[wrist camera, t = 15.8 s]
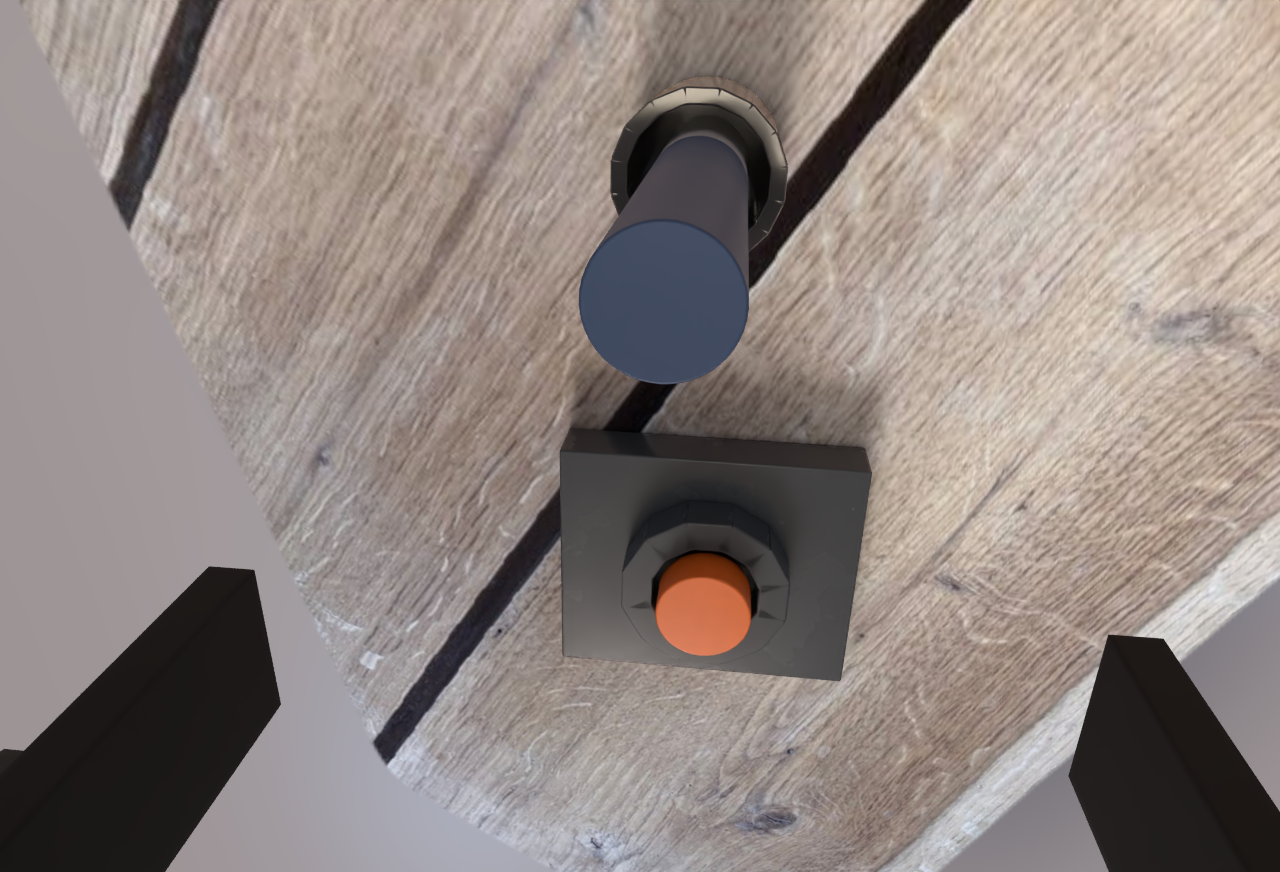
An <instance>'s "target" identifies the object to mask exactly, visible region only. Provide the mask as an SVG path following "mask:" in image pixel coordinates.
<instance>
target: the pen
mask: <svg viewBox="0 0 1280 872" xmlns="http://www.w3.org/2000/svg"><path fill="white" fill-rule="evenodd" d="M579 309H580V315H581V320H582V323H583V326H584V329H585V332H586V334H587V336H588V338H589V340H590V342H591V343H592V345H593V346H594V348H595V349H596V351H597V352H598V353H599V354H600V355H601V356H602V357H603V358H604V359H605V360H606V361H607V362H608V363H609V364H610V365H611V366H613V367H614V368H616V369H617V370H618V371H620V372H622V373H624V374H626V375H628V376H630V377H632V378H635V379H637V380H640V381H644V382H648V383H655V384H676V383H683V382H687V381H691V380H694V379H696V378H699V377H701V376H703V375H705V374H707V373H709V372H711V371H712V370H713V369H715V368H716V367H718V366H719V365H720V364H721V363H722V362H723V361H724V360H725V359H727V358H728V356H729V355H730V354H731V353H732V351H733V350H734V349H735V347H736V345H737V344H738V342H739V341H740V338H741V336H742V334H743V332H744V329H745V325H746V322H747V317H748V310H749V277H748V167H747V149H746V145H745V142H744V139H743V138H742V136H741V134H740V133H739V131H738V130H737V129H736V128H735V127H734V126H733V125H732V124H730V123H729V122H727V121H725V120H723V119H721V118H718V117H713V116H702V117H697V118H694V119H691V120H689V121H687V122H686V123H684V124H683V125H682V126H681V127H679V128H678V130H677V131H676V132H675V133H674V135H673V136H672V138H671V139H670V141H669V142H668V144H667V145H666V146H665V148H664V149H663V151H662V152H661V154H660V155H659V157H658V158H657V160H656V161H655V163H654V164H653V166H652V167H651V169H650V170H649V172H648V173H647V175H646V176H645V178H644V179H643V181H642V182H641V184H640V185H639V187H638V188H637V190H636V191H635V193H634V194H633V196H632V197H631V199H630V200H629V202H628V203H627V205H626V206H625V208H624V209H623V211H622V212H621V214H620V215H619V217H618V218H617V219H616V221H615V222H614V224H613V225H612V227H611V228H610V230H609V231H608V233H607V234H606V236H605V237H604V239H603V240H602V242H601V243H600V245H599V246H598V248H597V249H596V251H595V252H594V254H593V255H592V257H591V258H590V260H589V262H588V264H587V266H586V268H585V271H584V273H583V276H582V280H581V285H580V290H579Z"/></svg>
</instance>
